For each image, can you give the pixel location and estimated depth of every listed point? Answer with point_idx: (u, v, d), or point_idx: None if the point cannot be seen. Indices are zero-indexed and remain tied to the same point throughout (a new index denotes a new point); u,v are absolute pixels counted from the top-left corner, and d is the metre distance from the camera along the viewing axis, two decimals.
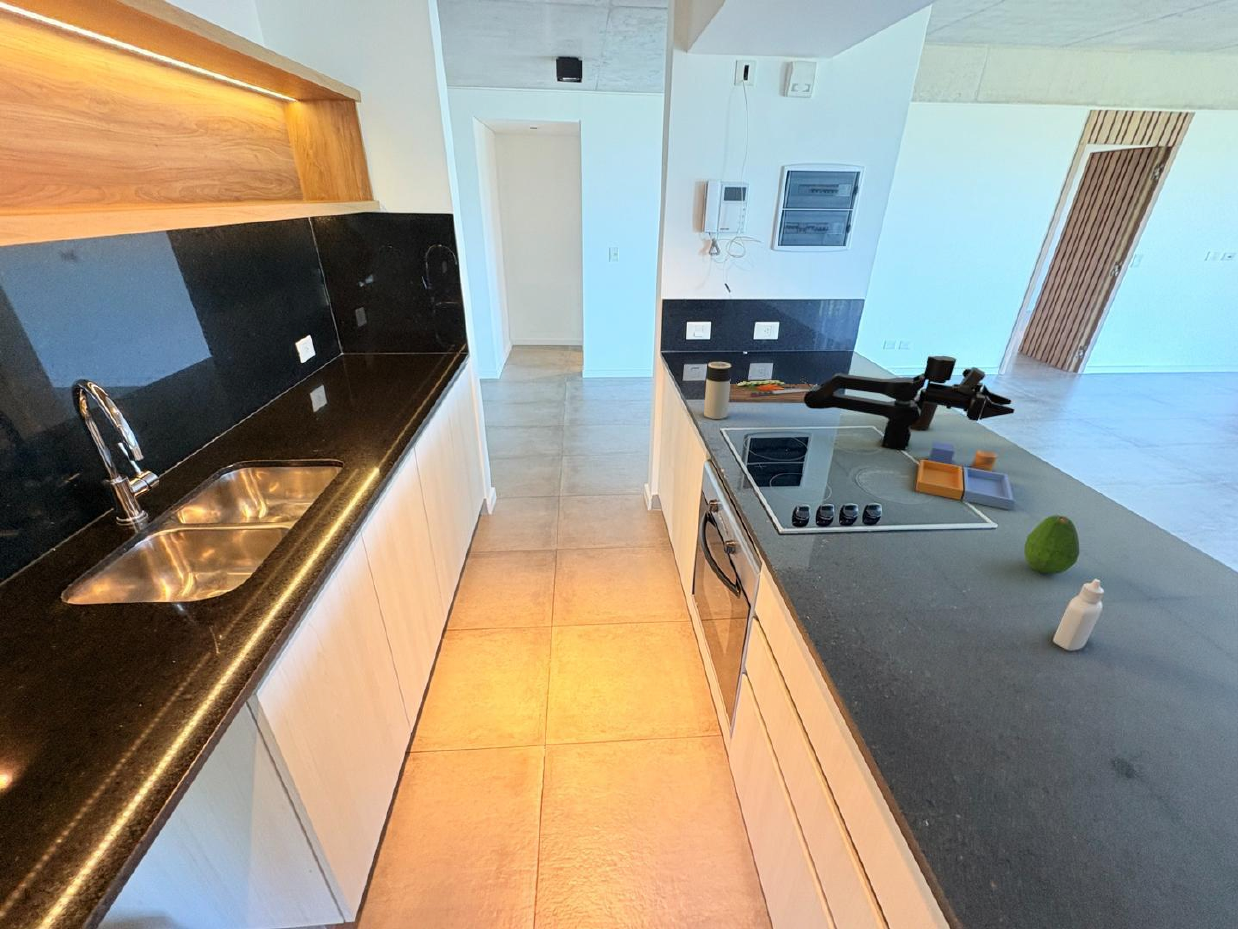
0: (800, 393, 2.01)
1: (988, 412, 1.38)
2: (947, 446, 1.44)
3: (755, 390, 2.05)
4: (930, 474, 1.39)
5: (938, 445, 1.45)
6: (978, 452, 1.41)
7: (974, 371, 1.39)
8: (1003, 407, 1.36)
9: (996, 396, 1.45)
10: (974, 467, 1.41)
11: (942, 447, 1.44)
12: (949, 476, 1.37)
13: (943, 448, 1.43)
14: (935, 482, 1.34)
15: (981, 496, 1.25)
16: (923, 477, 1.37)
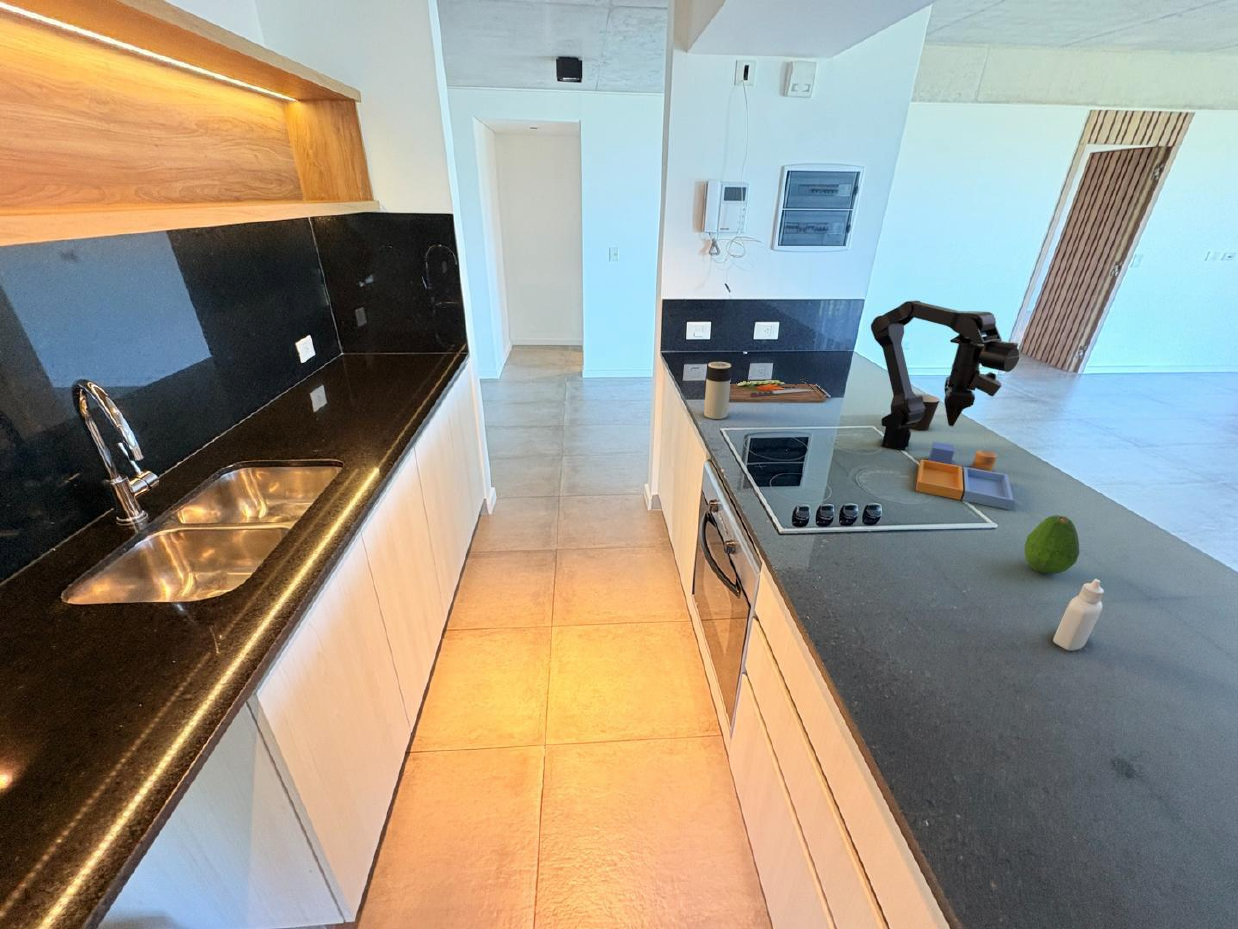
0: (800, 393, 2.01)
1: (951, 406, 1.35)
2: (947, 446, 1.44)
3: (755, 390, 2.05)
4: (930, 474, 1.39)
5: (938, 445, 1.45)
6: (978, 452, 1.41)
7: (999, 387, 1.31)
8: (956, 418, 1.35)
9: None
10: (974, 467, 1.41)
11: (942, 447, 1.44)
12: (949, 476, 1.37)
13: (943, 448, 1.43)
14: (935, 482, 1.34)
15: (981, 496, 1.25)
16: (923, 477, 1.37)
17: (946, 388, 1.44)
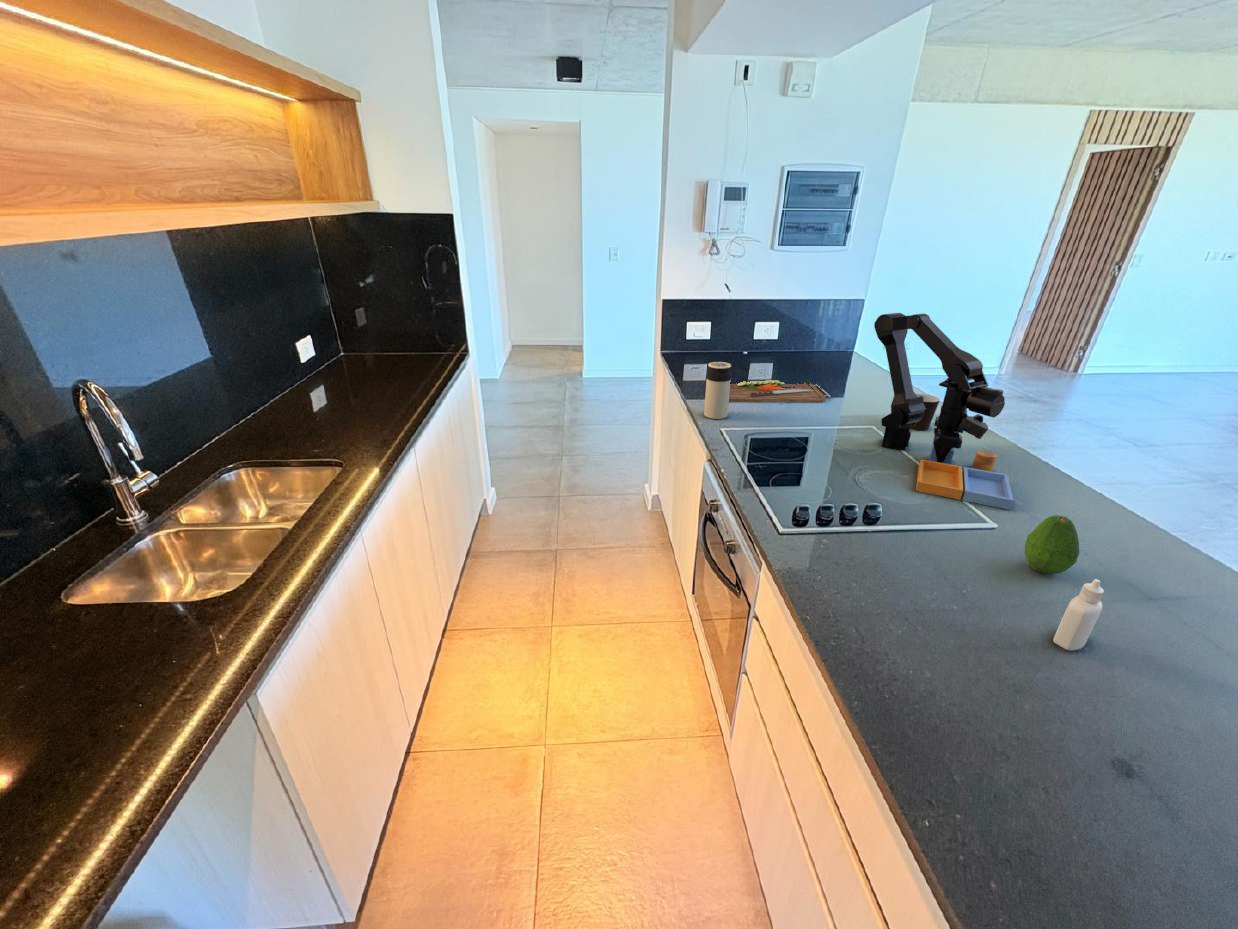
0: (800, 393, 2.01)
1: (940, 445, 1.41)
2: None
3: (755, 390, 2.05)
4: (930, 474, 1.39)
5: None
6: (978, 452, 1.41)
7: (986, 430, 1.36)
8: (945, 456, 1.42)
9: None
10: (974, 467, 1.41)
11: None
12: (949, 476, 1.37)
13: None
14: (935, 482, 1.34)
15: (981, 496, 1.25)
16: (923, 477, 1.37)
17: (935, 430, 1.47)
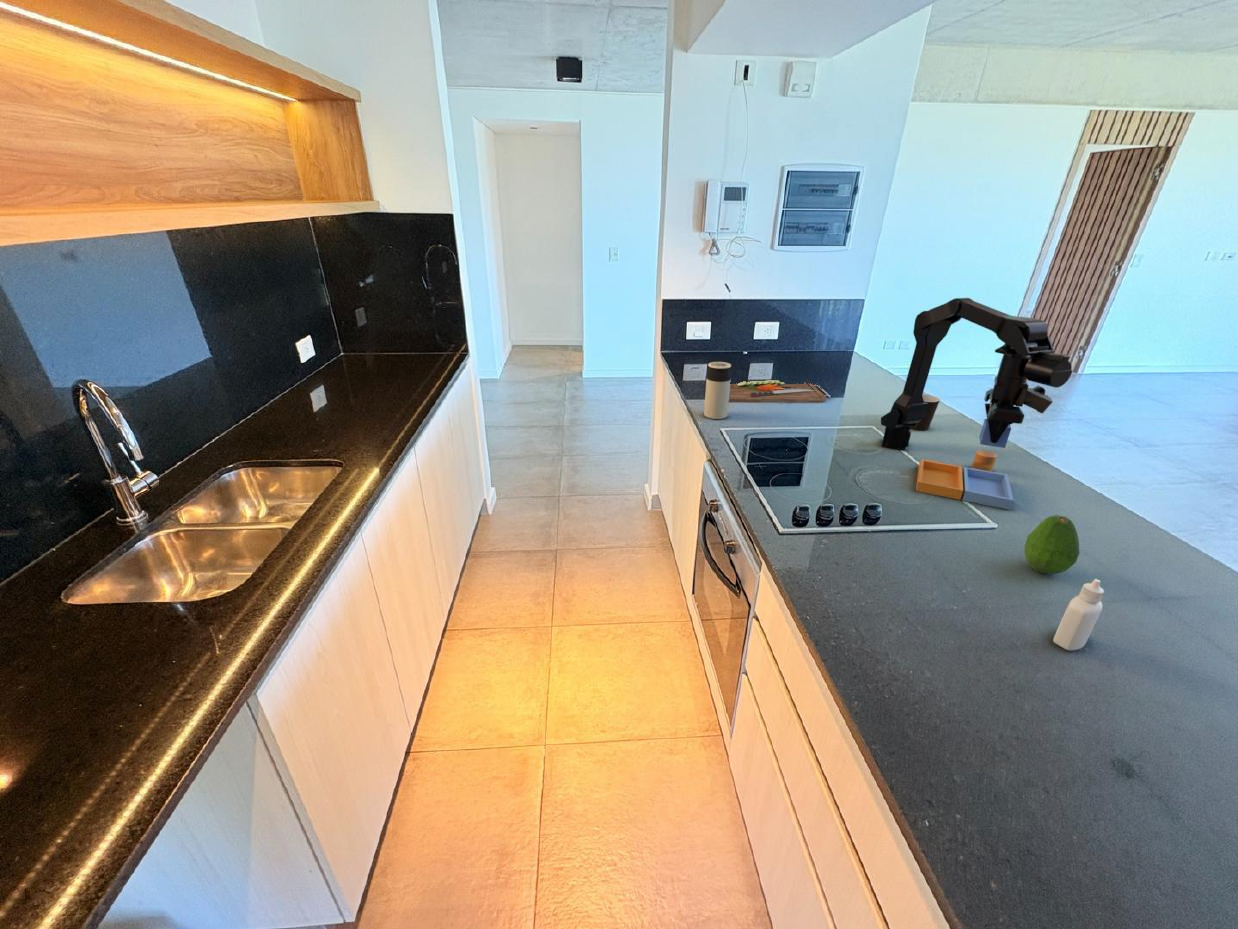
0: (800, 393, 2.01)
1: (995, 422, 1.23)
2: None
3: (755, 390, 2.05)
4: (930, 474, 1.39)
5: None
6: (978, 452, 1.41)
7: (1050, 402, 1.18)
8: (1000, 434, 1.23)
9: None
10: (974, 467, 1.41)
11: None
12: (949, 476, 1.37)
13: None
14: (935, 482, 1.34)
15: (981, 496, 1.25)
16: (923, 477, 1.37)
17: (987, 405, 1.29)
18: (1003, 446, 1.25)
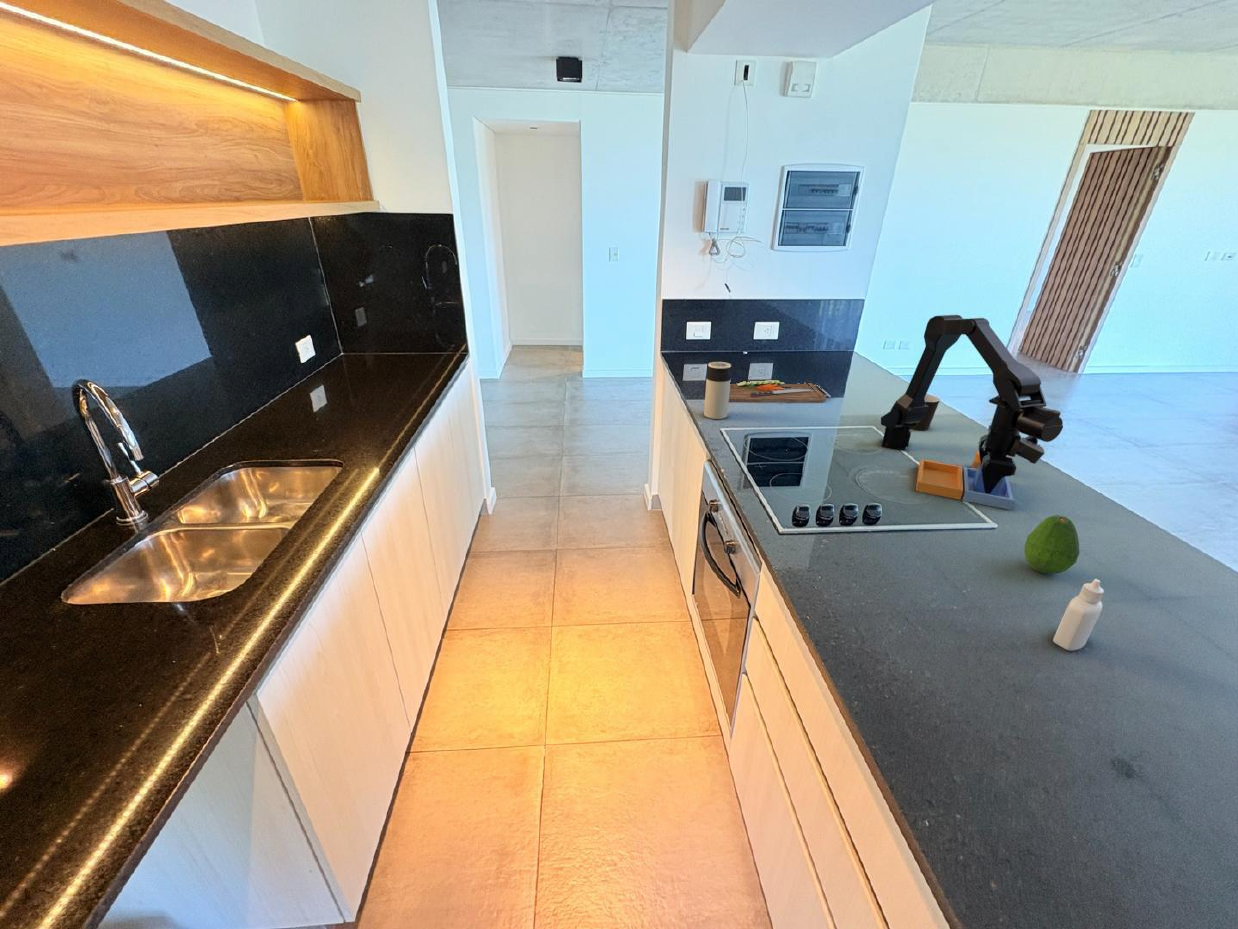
0: (800, 393, 2.01)
1: (989, 474, 1.24)
2: None
3: (755, 390, 2.05)
4: (930, 474, 1.39)
5: None
6: (978, 452, 1.41)
7: (1042, 454, 1.20)
8: (994, 485, 1.24)
9: None
10: (974, 467, 1.41)
11: None
12: (949, 476, 1.37)
13: None
14: (935, 482, 1.34)
15: (981, 496, 1.25)
16: (923, 477, 1.37)
17: (981, 449, 1.33)
18: (996, 494, 1.28)
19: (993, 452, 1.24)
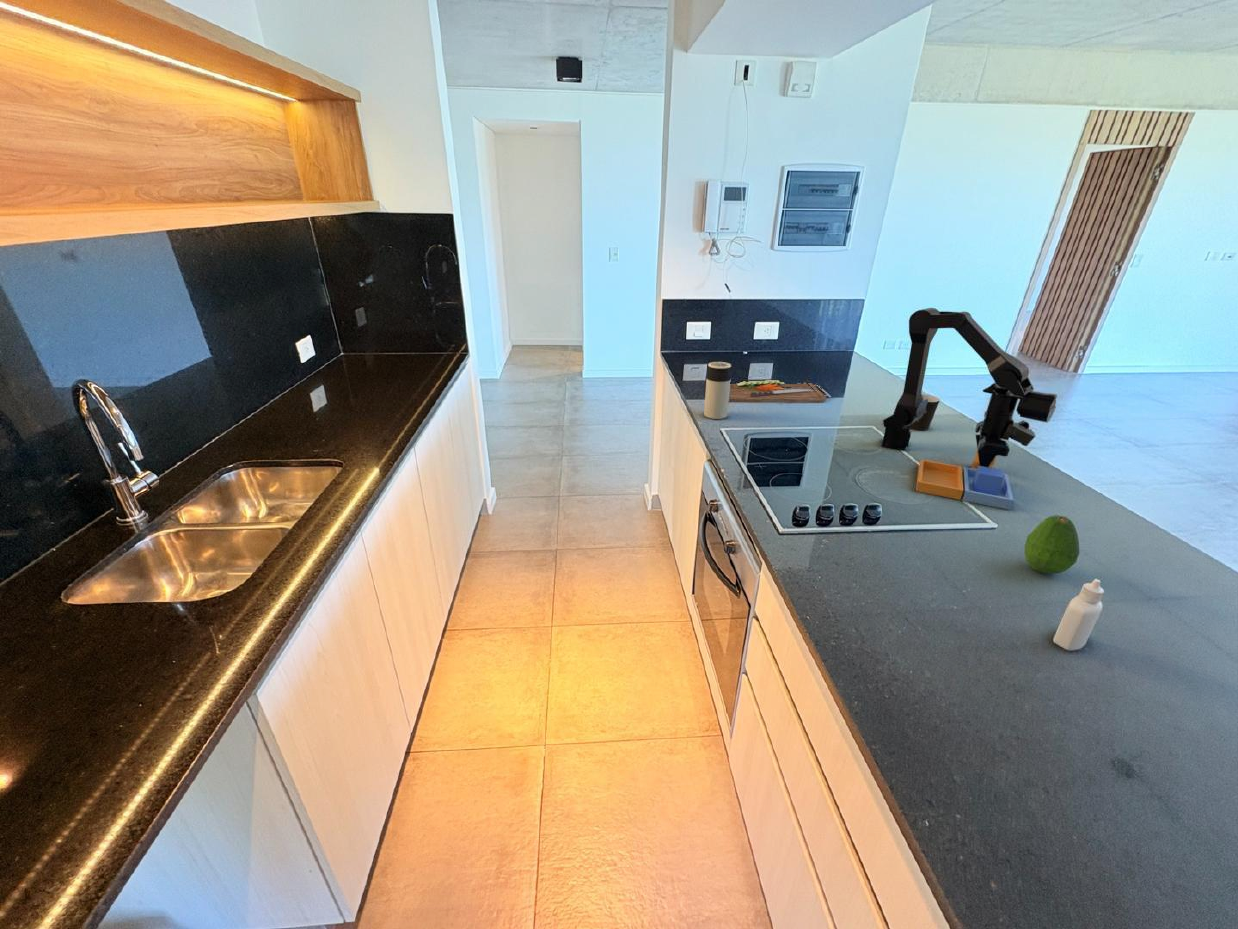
0: (800, 393, 2.01)
1: (984, 452, 1.37)
2: (994, 471, 1.29)
3: (755, 390, 2.05)
4: (930, 474, 1.39)
5: (984, 470, 1.29)
6: None
7: (1033, 437, 1.32)
8: (989, 463, 1.37)
9: None
10: (974, 467, 1.41)
11: (990, 472, 1.28)
12: (949, 476, 1.37)
13: (991, 473, 1.27)
14: (935, 482, 1.34)
15: (981, 496, 1.25)
16: (923, 477, 1.37)
17: (977, 436, 1.43)
18: (996, 494, 1.28)
19: (988, 436, 1.36)
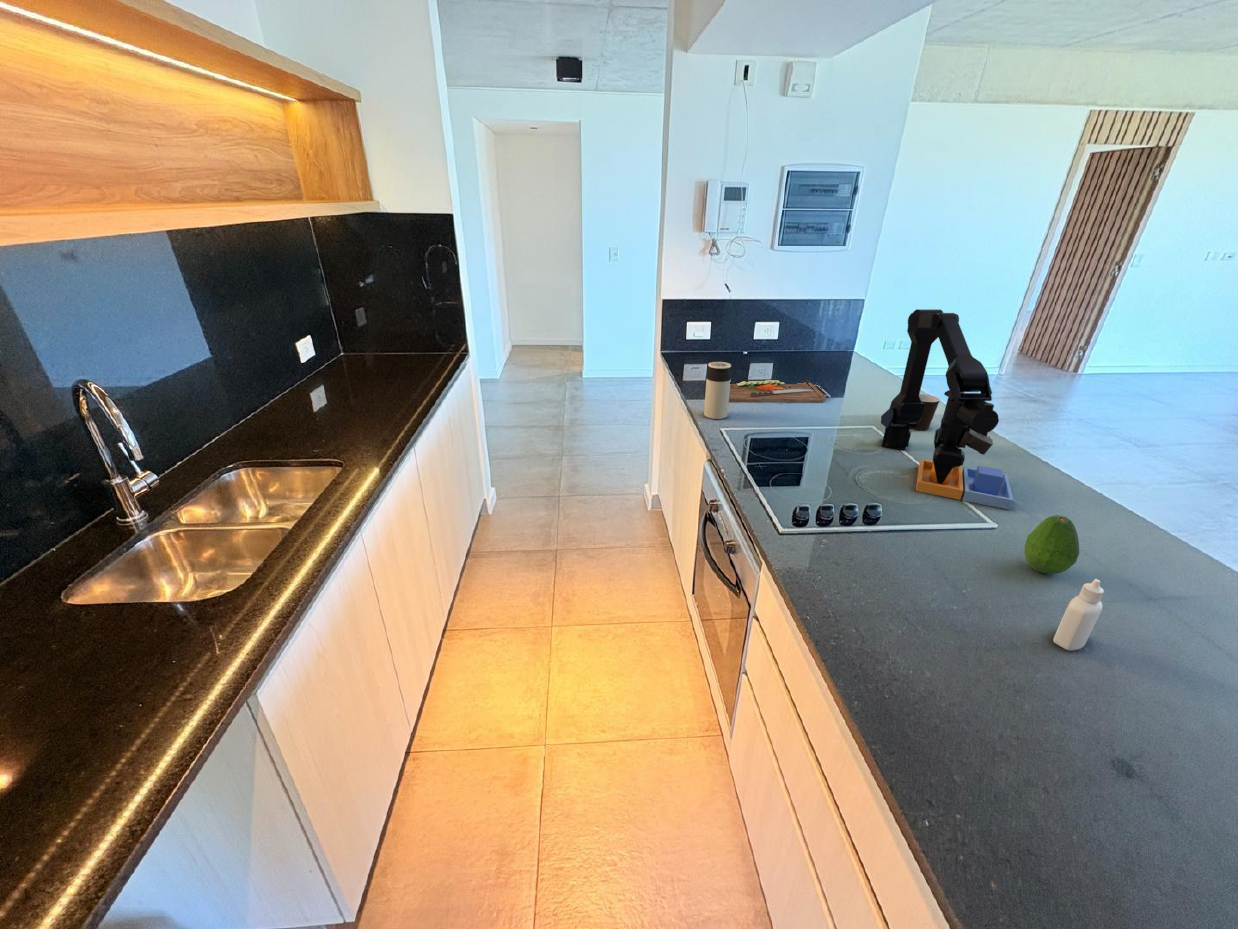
0: (800, 393, 2.01)
1: (940, 464, 1.28)
2: (994, 471, 1.29)
3: (755, 390, 2.05)
4: None
5: (984, 470, 1.29)
6: None
7: (990, 445, 1.25)
8: (945, 476, 1.29)
9: None
10: (931, 477, 1.35)
11: (990, 472, 1.28)
12: None
13: (991, 473, 1.27)
14: None
15: (981, 496, 1.25)
16: (923, 477, 1.37)
17: (936, 441, 1.38)
18: (996, 494, 1.28)
19: (945, 444, 1.29)
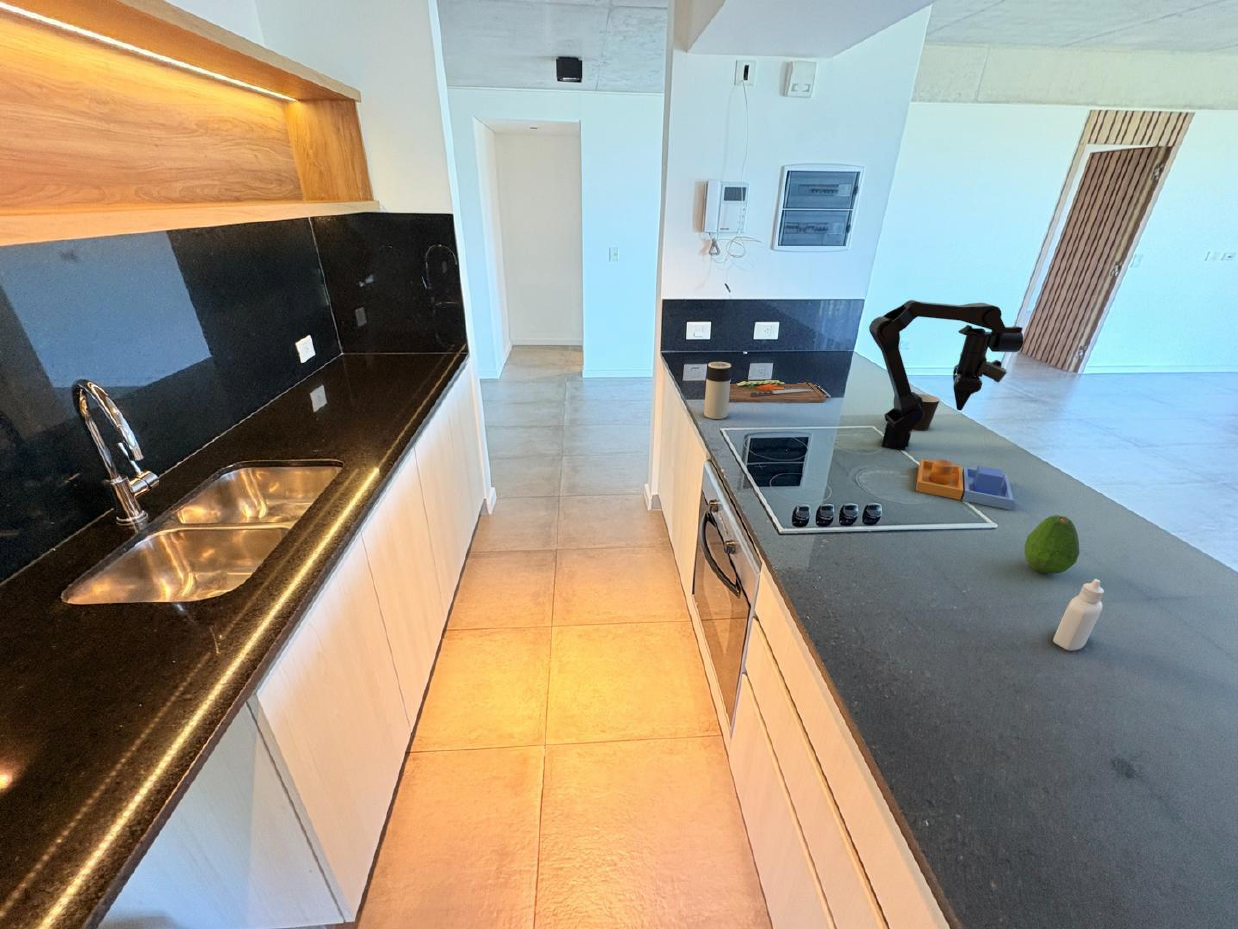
0: (800, 393, 2.01)
1: (960, 392, 1.45)
2: (994, 471, 1.29)
3: (755, 390, 2.05)
4: None
5: (984, 470, 1.29)
6: (935, 461, 1.34)
7: (1004, 373, 1.41)
8: (964, 402, 1.45)
9: None
10: (931, 477, 1.35)
11: (990, 472, 1.28)
12: None
13: (991, 473, 1.27)
14: None
15: (981, 496, 1.25)
16: (923, 477, 1.37)
17: (954, 375, 1.54)
18: (996, 494, 1.28)
19: (964, 374, 1.45)
